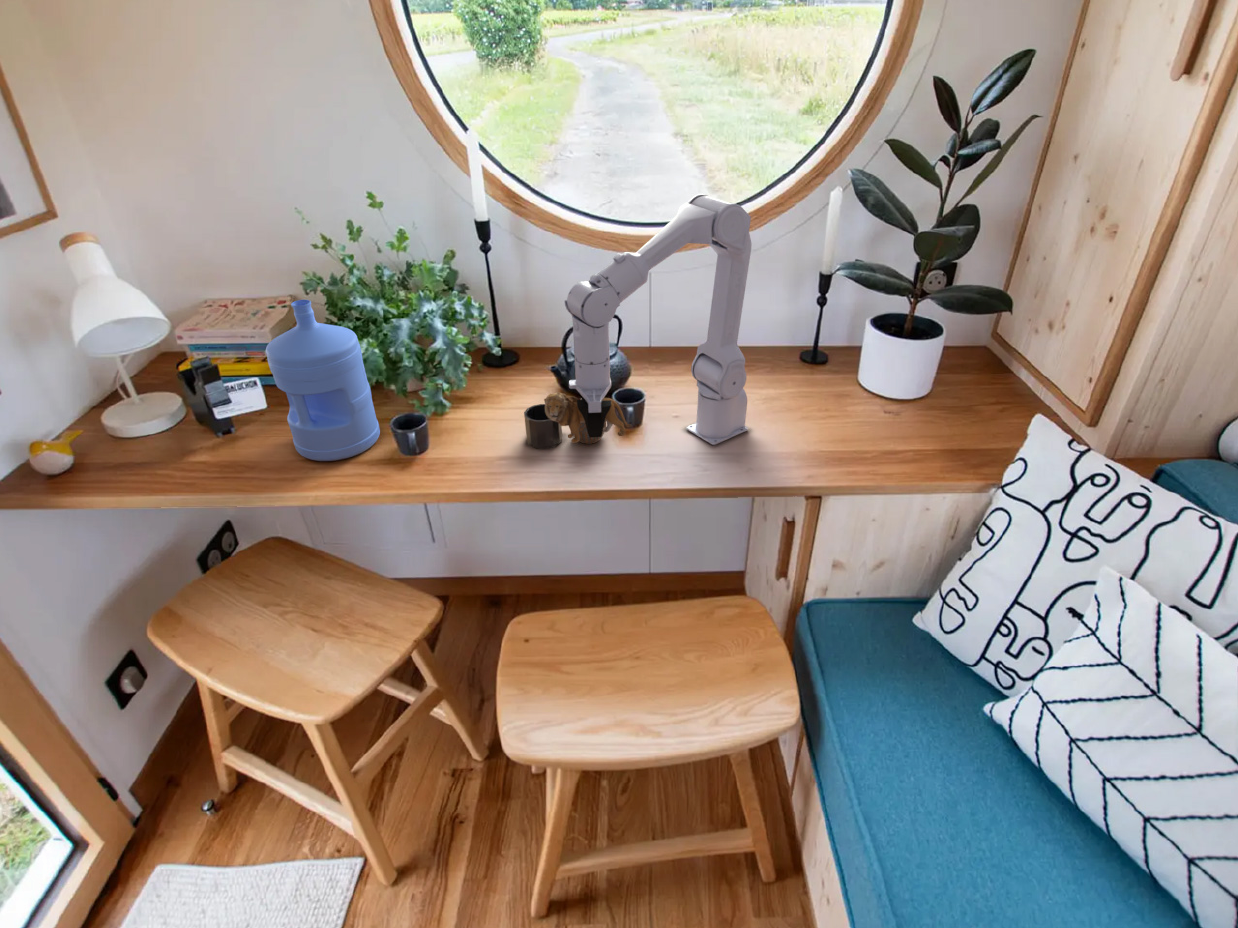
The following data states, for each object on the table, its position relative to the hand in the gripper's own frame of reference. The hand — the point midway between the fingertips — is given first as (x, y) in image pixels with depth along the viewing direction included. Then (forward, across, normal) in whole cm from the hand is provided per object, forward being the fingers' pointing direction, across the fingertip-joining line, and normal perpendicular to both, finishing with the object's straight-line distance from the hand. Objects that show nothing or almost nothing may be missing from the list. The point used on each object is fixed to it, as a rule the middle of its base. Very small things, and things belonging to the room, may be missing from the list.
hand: (594, 429), depth 119 cm
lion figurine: (+1, +1, -1) cm, 2 cm away
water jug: (+9, -14, -50) cm, 52 cm away
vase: (+9, -11, -1) cm, 14 cm away
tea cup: (+9, -12, -10) cm, 17 cm away
